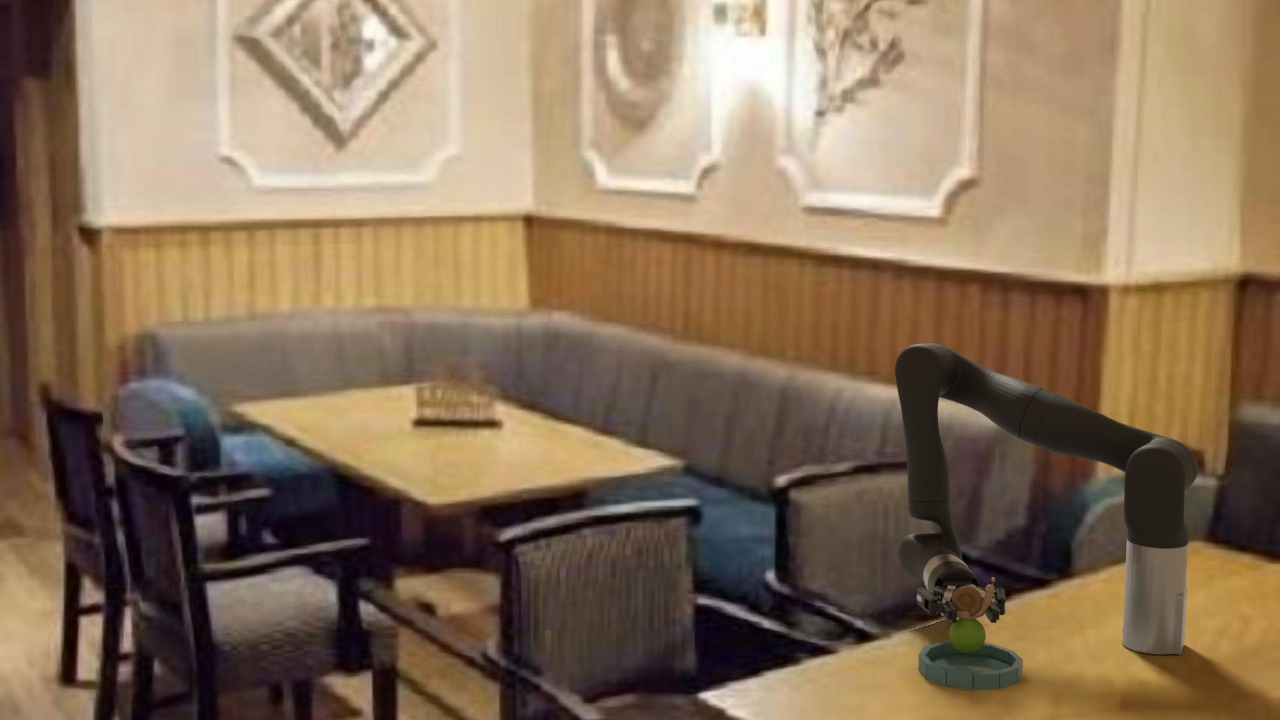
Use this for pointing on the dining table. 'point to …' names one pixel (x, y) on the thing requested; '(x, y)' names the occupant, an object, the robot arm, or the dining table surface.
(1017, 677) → the dish
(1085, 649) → the dining table surface
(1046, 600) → the dining table surface
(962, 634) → the snail figurine
